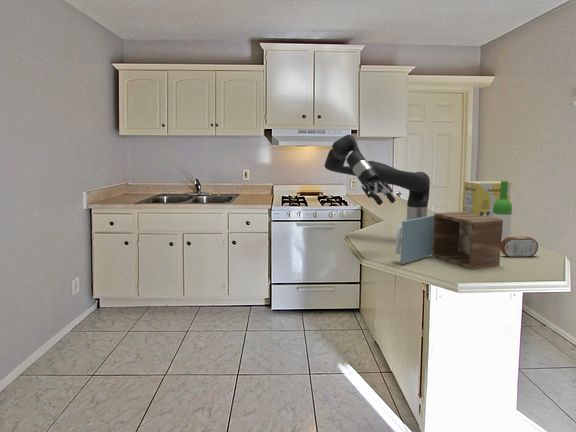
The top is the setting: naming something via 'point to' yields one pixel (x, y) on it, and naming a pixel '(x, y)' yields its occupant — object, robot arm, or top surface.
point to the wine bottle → (503, 210)
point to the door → (415, 238)
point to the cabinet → (467, 239)
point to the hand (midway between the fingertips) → (387, 202)
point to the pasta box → (482, 197)
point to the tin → (519, 246)
